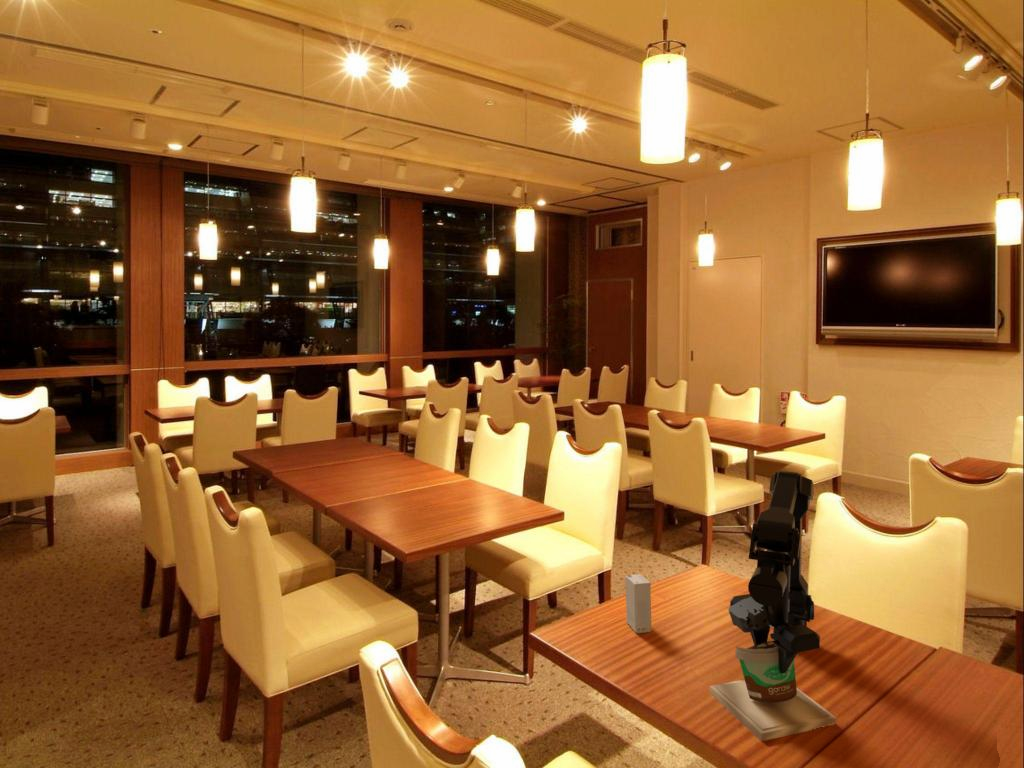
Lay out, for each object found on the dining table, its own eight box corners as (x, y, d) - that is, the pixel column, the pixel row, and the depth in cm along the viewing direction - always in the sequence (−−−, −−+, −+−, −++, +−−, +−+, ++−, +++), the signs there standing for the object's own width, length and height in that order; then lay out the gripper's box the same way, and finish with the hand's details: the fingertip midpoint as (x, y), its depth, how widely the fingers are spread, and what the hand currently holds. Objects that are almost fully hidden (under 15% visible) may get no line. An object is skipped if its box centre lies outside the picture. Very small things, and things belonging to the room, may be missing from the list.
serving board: (777, 682, 138) (777, 672, 138) (835, 727, 123) (835, 716, 122) (709, 695, 133) (709, 685, 133) (761, 744, 118) (761, 732, 118)
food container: (763, 711, 122) (753, 655, 122) (743, 700, 127) (733, 646, 128) (819, 694, 125) (808, 639, 126) (796, 684, 131) (787, 632, 132)
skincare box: (652, 632, 159) (652, 582, 158) (634, 634, 158) (634, 584, 157) (641, 620, 165) (642, 573, 164) (624, 622, 164) (624, 574, 163)
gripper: (707, 572, 132) (706, 647, 134) (770, 612, 114) (767, 698, 116) (755, 565, 135) (753, 639, 137) (823, 603, 118) (820, 687, 119)
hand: (771, 664), depth 127 cm, fingers closed on food container, 6 cm apart
